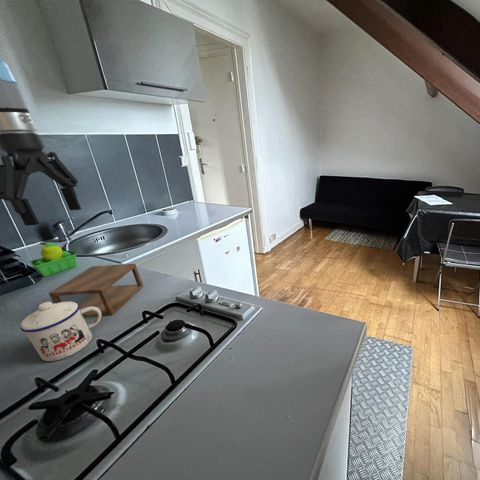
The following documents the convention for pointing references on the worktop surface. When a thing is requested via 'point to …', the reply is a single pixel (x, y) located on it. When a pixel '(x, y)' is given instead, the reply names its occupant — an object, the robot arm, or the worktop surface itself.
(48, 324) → the teacup with lid
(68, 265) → the fruit basket
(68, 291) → the rack
